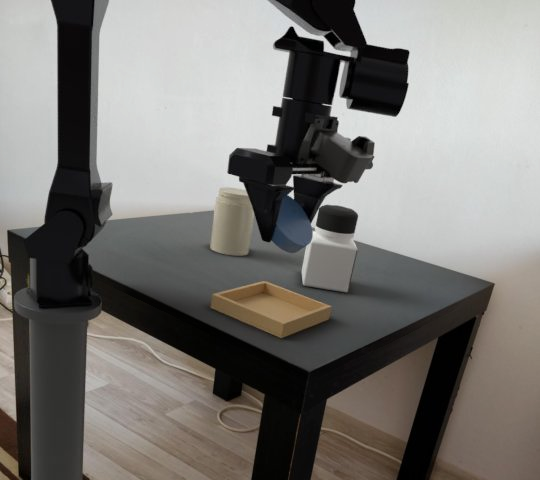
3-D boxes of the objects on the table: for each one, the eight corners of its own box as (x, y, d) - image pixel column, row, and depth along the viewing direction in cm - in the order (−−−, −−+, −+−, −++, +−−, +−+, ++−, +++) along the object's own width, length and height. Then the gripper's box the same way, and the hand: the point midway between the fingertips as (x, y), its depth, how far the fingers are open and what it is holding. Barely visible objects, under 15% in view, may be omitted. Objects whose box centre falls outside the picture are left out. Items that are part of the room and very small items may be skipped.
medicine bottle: (348, 293, 89) (365, 215, 84) (302, 286, 89) (317, 207, 84) (343, 279, 96) (359, 206, 91) (301, 273, 96) (315, 199, 91)
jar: (222, 256, 97) (230, 194, 93) (203, 244, 102) (209, 185, 98) (256, 255, 101) (265, 196, 97) (236, 244, 106) (243, 187, 102)
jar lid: (286, 262, 69) (297, 254, 68) (249, 211, 68) (260, 202, 67) (309, 241, 75) (320, 233, 74) (275, 194, 74) (286, 185, 72)
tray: (281, 338, 69) (283, 323, 68) (210, 307, 74) (212, 293, 73) (328, 319, 77) (331, 306, 77) (262, 293, 83) (264, 280, 82)
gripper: (326, 106, 54) (296, 267, 61) (406, 119, 69) (375, 248, 75) (234, 89, 60) (215, 239, 66) (326, 104, 74) (303, 226, 80)
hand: (283, 238), depth 72 cm, fingers closed on jar lid, 7 cm apart
